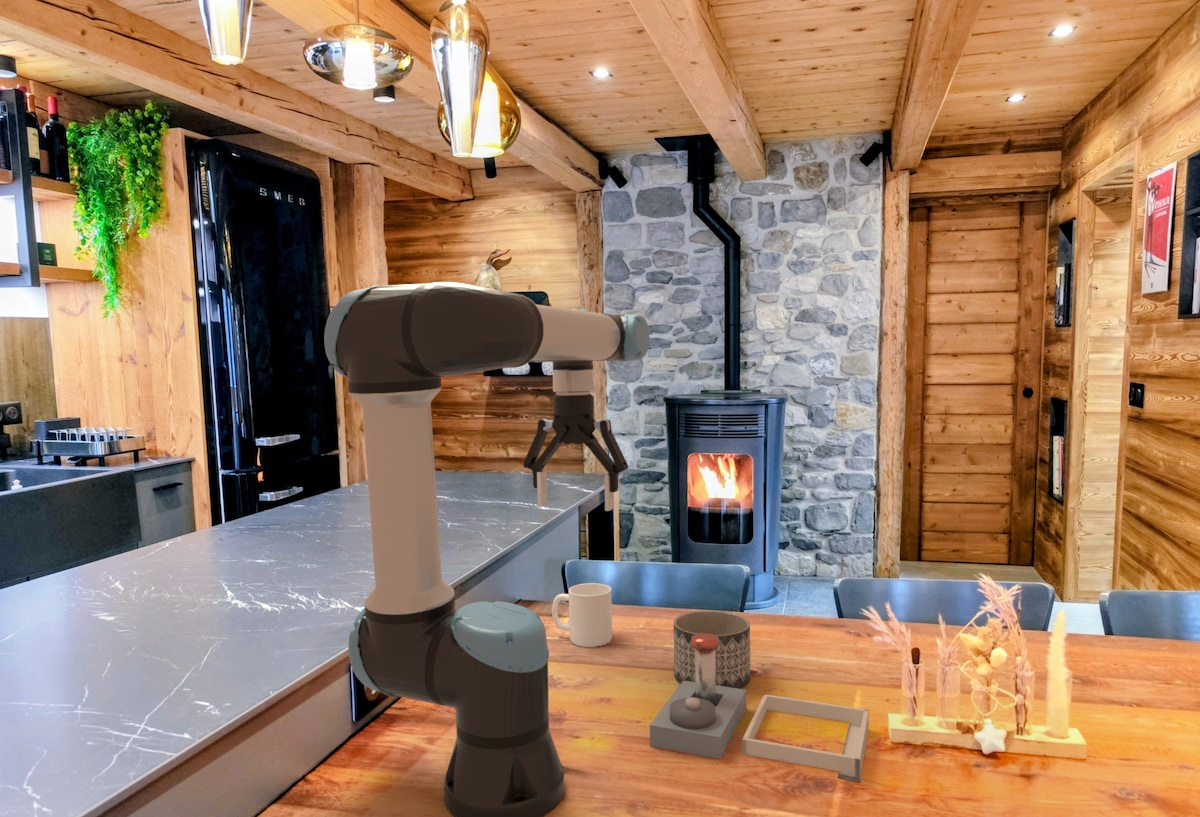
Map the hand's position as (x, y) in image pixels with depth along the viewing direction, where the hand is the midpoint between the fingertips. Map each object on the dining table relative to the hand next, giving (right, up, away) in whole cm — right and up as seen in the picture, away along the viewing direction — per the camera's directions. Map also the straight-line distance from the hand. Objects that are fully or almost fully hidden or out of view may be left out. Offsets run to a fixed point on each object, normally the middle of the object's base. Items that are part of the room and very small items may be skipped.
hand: (575, 507), depth 146 cm
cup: (+1, -27, +8) cm, 28 cm away
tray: (+34, -29, -35) cm, 57 cm away
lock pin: (+20, -28, -29) cm, 45 cm away
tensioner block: (+19, -29, -31) cm, 47 cm away
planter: (+23, -28, -14) cm, 39 cm away
